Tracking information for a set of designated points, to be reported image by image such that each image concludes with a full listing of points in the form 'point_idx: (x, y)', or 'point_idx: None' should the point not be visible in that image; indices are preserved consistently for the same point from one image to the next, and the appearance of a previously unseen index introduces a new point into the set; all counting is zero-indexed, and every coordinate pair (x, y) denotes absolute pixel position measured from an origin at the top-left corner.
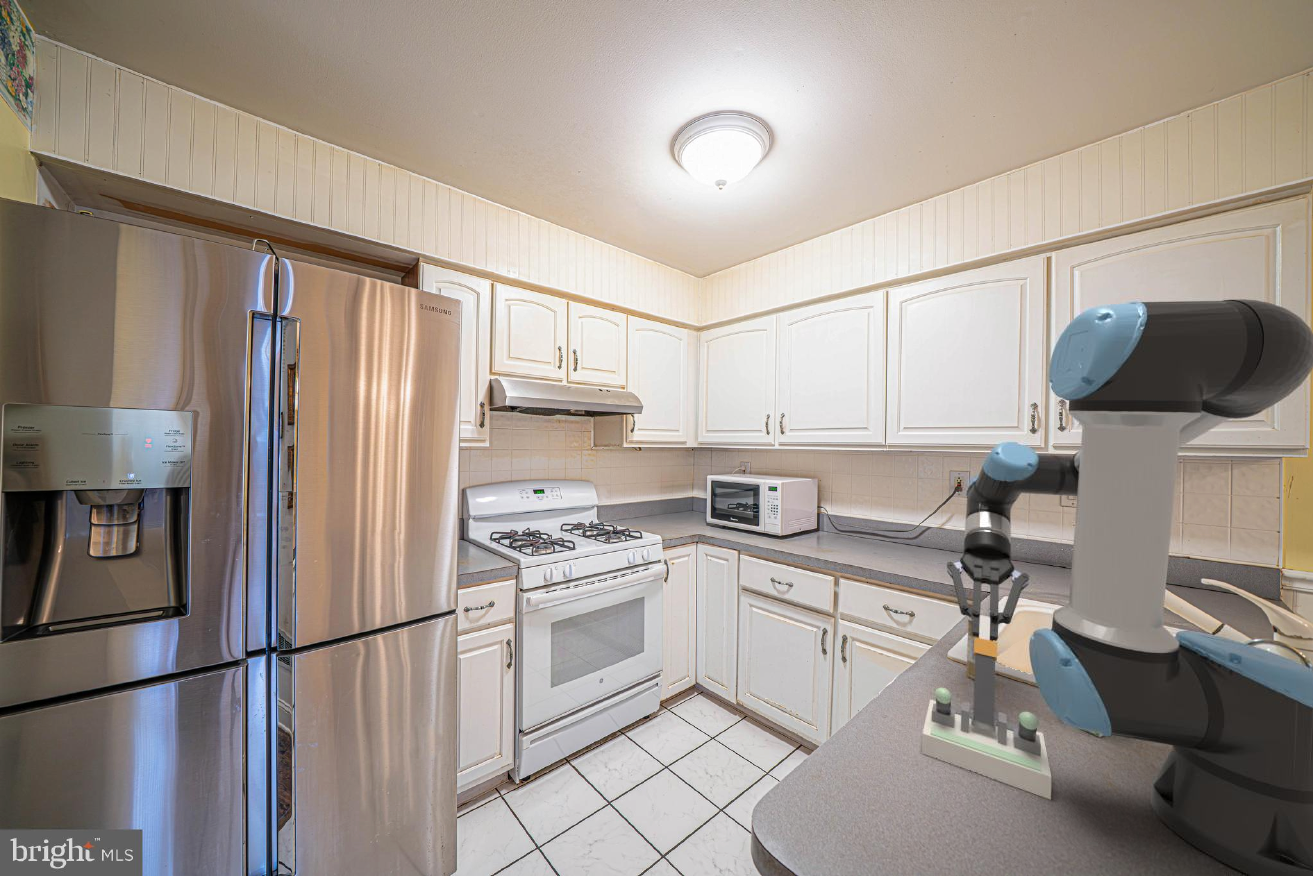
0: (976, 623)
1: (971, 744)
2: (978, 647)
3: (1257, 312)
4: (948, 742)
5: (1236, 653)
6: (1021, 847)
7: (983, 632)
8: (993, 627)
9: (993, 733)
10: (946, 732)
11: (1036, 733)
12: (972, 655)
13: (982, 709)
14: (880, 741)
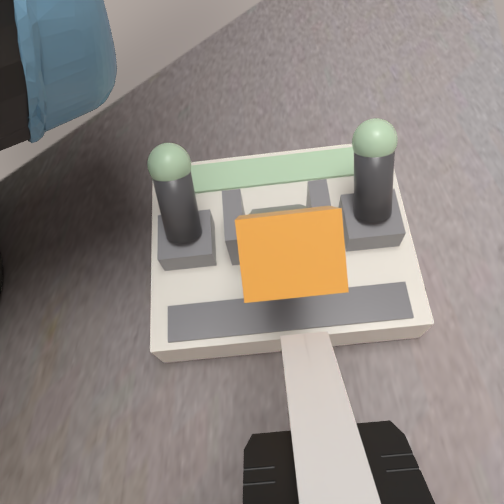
0: (388, 479)
1: (291, 163)
2: (315, 208)
3: None
4: (333, 146)
5: None
6: (209, 62)
7: (324, 402)
8: (273, 488)
9: None
10: (345, 171)
11: (164, 335)
12: None
13: (280, 207)
14: (456, 149)
